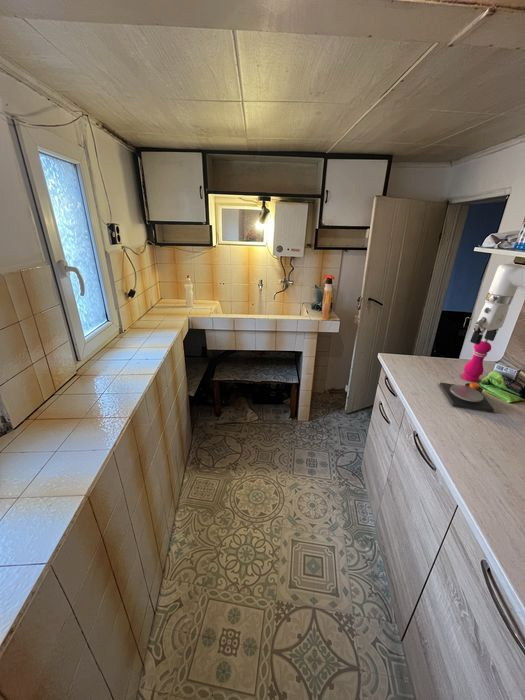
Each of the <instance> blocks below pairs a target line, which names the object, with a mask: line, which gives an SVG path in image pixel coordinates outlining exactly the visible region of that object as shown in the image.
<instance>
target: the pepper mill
mask: <svg viewBox="0 0 525 700" xmlns="http://www.w3.org/2000/svg"><path fill="white" fill-rule="evenodd" d="M491 351H492V345H491V343H490V342H489V340H487V339H484V338H482V340H481V342H480V344H479V345H477V344H474V345H473V352H472V354H473V356H472V357H471V359H470V360H469V361H468V362H467V363H466V364H465V365H464V367H463V372H462V375H461V377H462V378H463V379H464V380H466V381H468V382H470V383H471V382H474V383H477V382H479V380H480V376H482V375H483V374H484V364H483V363H484V359H485V358H487V355H488V353H489V352H491Z"/></svg>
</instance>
